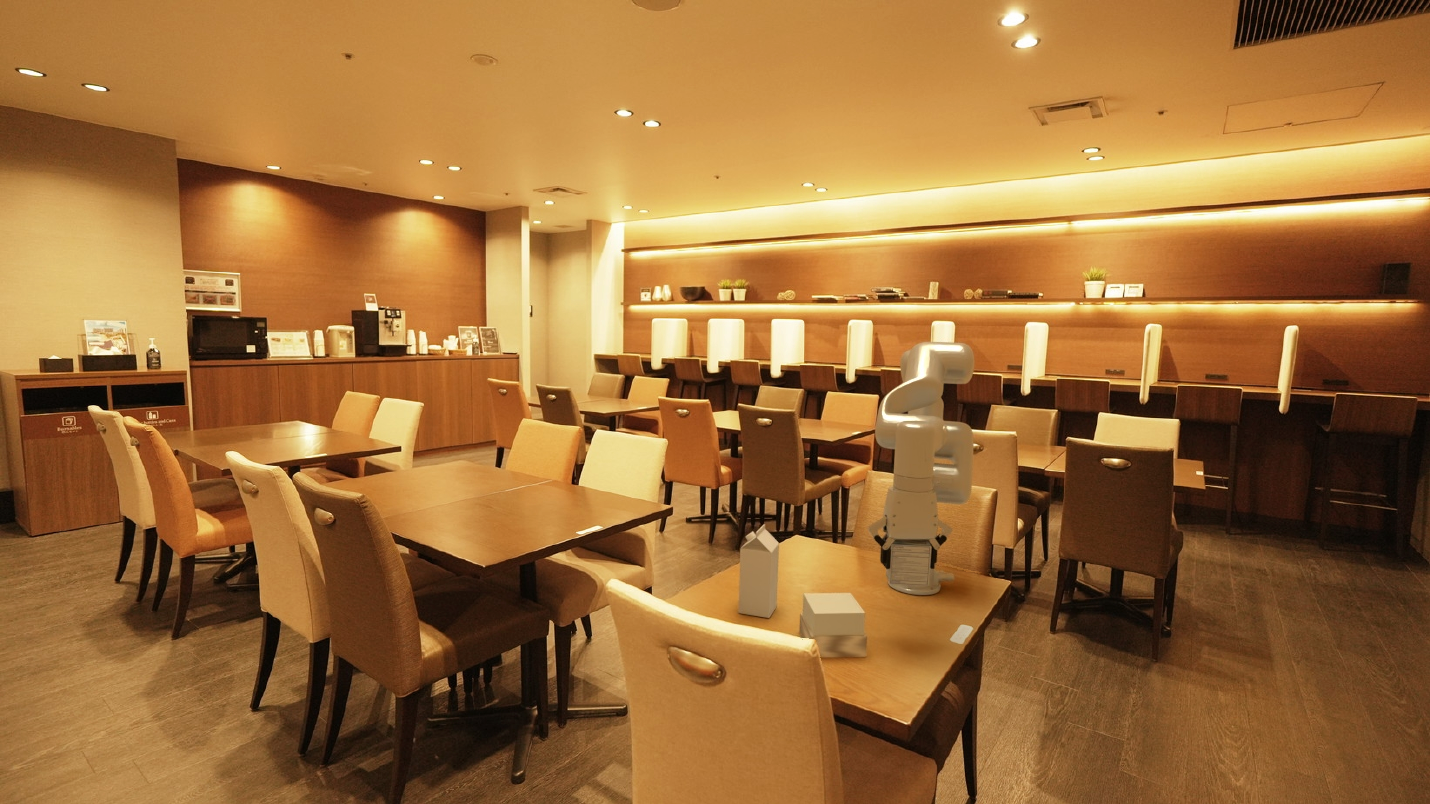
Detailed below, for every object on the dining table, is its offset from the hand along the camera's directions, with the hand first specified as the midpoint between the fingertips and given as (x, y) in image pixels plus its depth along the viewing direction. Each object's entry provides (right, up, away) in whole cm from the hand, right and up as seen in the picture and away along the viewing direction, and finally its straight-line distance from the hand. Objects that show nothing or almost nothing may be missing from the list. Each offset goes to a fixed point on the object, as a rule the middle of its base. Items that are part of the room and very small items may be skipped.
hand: (908, 566), depth 135 cm
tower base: (-15, -16, 0) cm, 22 cm away
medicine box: (0, -4, +1) cm, 3 cm away
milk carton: (-29, -14, +16) cm, 36 cm away
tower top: (-15, -12, 0) cm, 19 cm away
